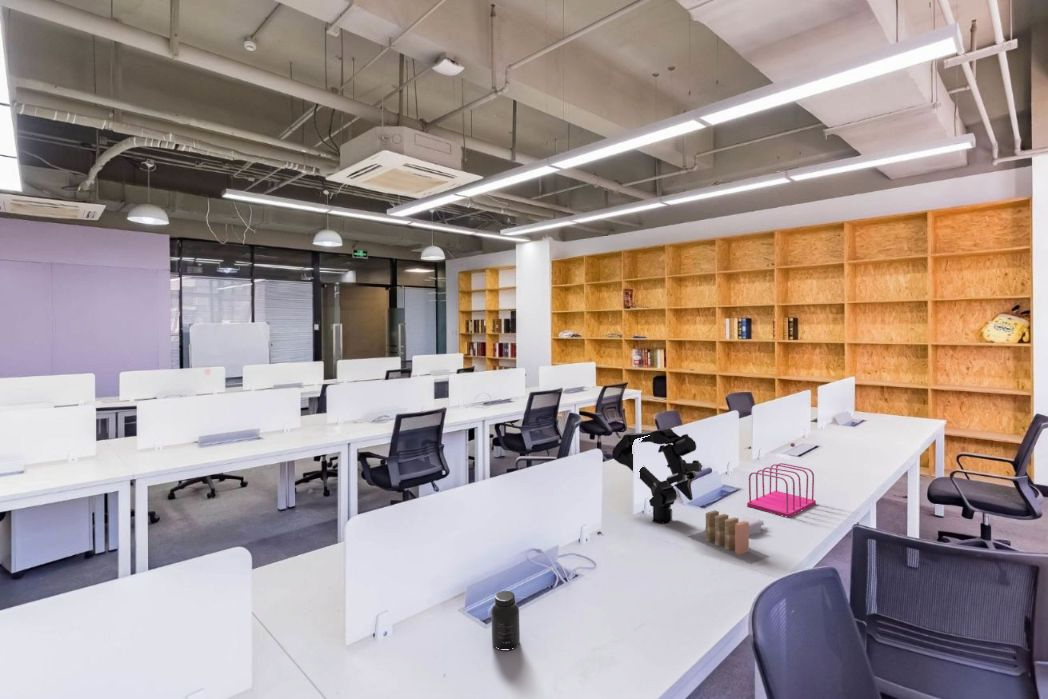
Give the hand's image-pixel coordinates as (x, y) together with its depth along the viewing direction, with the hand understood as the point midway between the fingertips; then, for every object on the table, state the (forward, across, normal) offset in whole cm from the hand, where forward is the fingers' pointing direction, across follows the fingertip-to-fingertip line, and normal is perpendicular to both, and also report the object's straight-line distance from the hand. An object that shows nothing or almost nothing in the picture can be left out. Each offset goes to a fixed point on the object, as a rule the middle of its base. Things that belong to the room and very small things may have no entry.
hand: (691, 500), depth 194 cm
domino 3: (+19, -6, -8) cm, 21 cm away
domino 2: (+17, -4, -5) cm, 18 cm away
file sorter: (+13, +50, -20) cm, 56 cm away
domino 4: (+21, -8, -12) cm, 25 cm away
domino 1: (+15, -3, -2) cm, 15 cm away
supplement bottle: (+19, -89, +29) cm, 95 cm away
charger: (+16, +15, -11) cm, 25 cm away
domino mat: (+18, -5, -7) cm, 20 cm away
